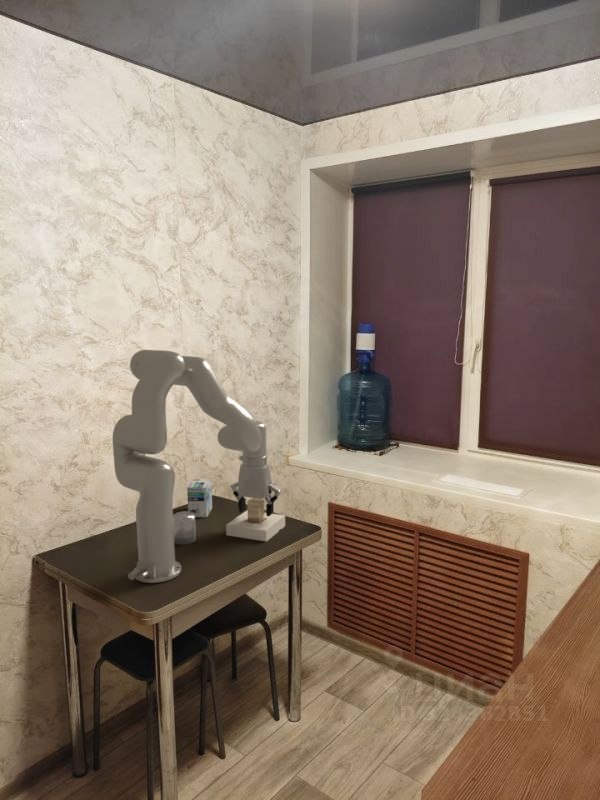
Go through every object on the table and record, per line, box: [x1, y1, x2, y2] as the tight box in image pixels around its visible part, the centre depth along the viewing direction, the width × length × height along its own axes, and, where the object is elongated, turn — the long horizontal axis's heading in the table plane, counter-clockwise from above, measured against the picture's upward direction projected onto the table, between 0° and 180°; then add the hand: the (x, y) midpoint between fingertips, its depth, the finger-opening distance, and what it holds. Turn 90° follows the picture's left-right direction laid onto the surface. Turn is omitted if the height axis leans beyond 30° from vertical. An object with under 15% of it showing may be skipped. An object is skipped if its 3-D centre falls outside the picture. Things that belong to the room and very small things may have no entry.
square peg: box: [246, 498, 266, 524], centre depth 185 cm, size 4×4×10 cm
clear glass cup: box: [173, 510, 197, 545], centre depth 178 cm, size 7×7×8 cm
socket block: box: [225, 509, 286, 542], centre depth 186 cm, size 14×14×4 cm
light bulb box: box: [186, 478, 213, 518], centre depth 203 cm, size 11×7×11 cm, turn 179°
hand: (255, 513), depth 185 cm, fingers open, 9 cm apart
